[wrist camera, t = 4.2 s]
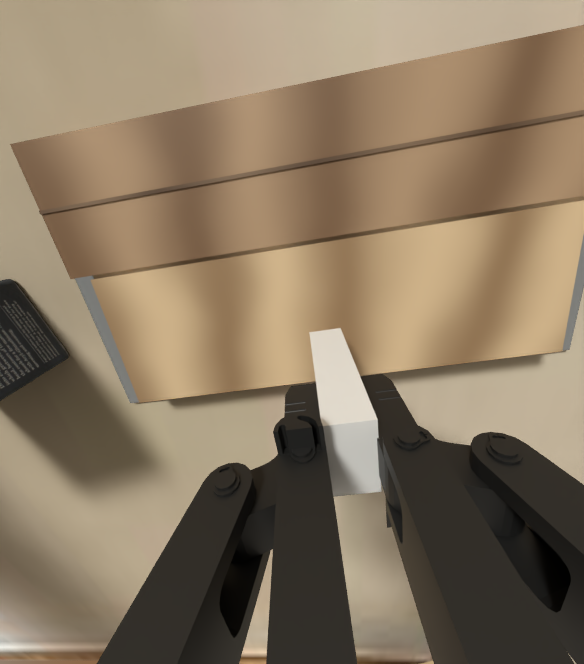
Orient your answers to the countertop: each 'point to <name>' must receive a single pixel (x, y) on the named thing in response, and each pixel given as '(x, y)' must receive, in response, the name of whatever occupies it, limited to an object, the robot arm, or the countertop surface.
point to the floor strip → (318, 158)
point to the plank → (350, 302)
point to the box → (23, 341)
